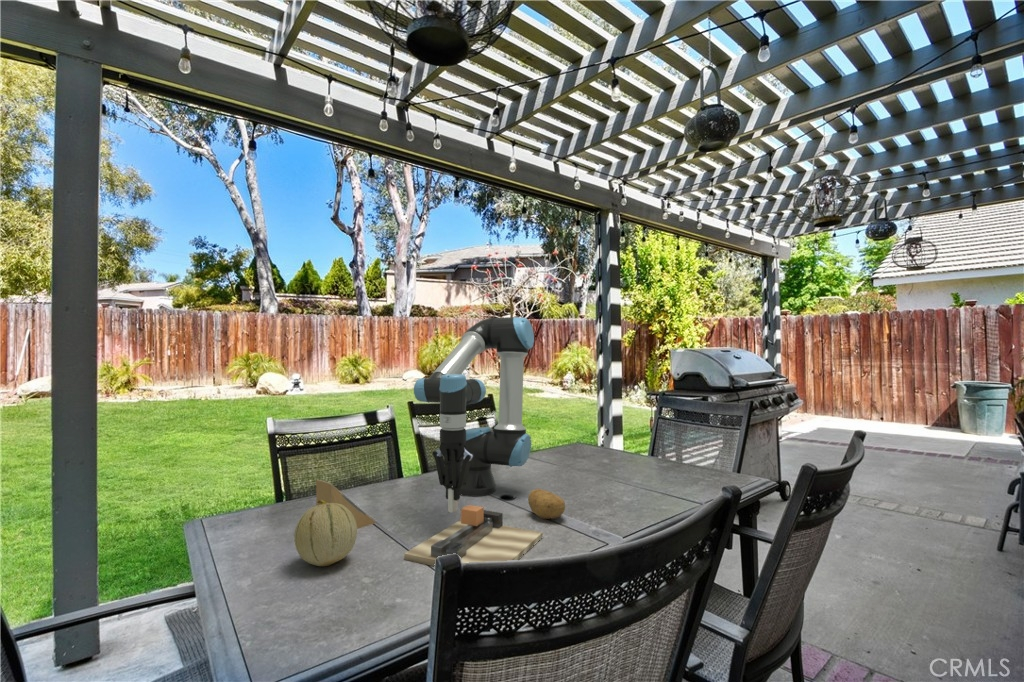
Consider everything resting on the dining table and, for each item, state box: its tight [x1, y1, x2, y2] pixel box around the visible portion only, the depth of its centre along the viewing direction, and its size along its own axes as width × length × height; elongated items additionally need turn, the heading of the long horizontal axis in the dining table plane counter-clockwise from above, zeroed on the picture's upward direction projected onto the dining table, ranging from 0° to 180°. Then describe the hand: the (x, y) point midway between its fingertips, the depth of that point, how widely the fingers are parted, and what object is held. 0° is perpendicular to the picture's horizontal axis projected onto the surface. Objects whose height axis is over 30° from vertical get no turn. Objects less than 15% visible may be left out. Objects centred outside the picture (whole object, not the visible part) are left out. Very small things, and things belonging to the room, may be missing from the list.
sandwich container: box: [315, 479, 377, 530], centre depth 147 cm, size 9×15×15 cm, turn 139°
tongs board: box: [403, 509, 544, 567], centre depth 130 cm, size 28×26×5 cm
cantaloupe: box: [293, 500, 358, 567], centre depth 121 cm, size 15×15×15 cm
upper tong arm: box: [446, 517, 493, 558], centre depth 130 cm, size 24×4×3 cm, turn 156°
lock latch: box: [460, 504, 485, 526], centre depth 138 cm, size 4×5×4 cm
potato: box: [528, 488, 566, 520], centre depth 154 cm, size 10×14×8 cm
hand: (452, 510), depth 141 cm, fingers closed
